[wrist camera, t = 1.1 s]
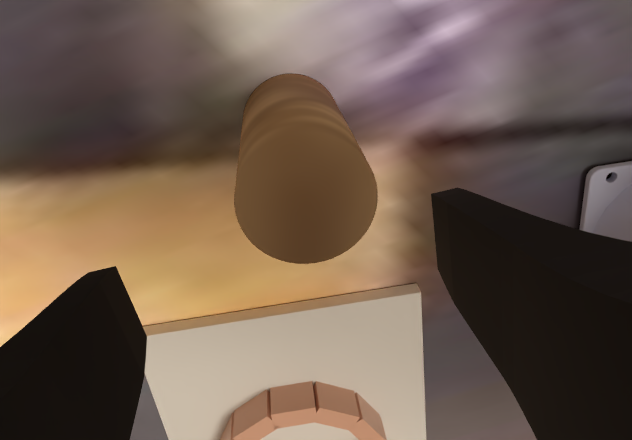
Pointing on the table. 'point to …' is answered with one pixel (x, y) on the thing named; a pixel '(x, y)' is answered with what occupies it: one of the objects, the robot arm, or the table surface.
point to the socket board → (292, 362)
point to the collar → (304, 412)
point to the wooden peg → (301, 173)
